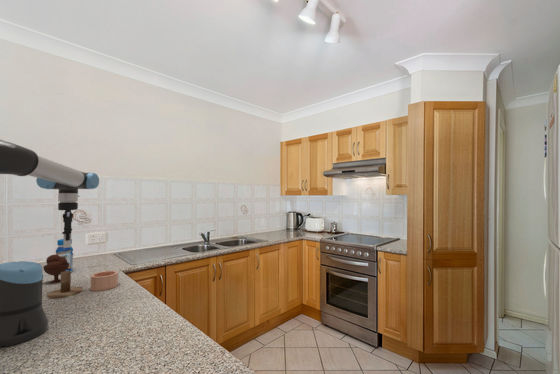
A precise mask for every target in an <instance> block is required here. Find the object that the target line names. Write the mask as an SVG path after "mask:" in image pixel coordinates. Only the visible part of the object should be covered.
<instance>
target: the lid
mask: <svg viewBox="0 0 560 374" xmlns="http://www.w3.org/2000/svg"><path fill="white" fill-rule="evenodd" d="M71 275H72V272H71V271H64V272H61V274H60V280H61V282H60V288H58V289H55V290H52V291H50V292H48V293H47V294H46V297H47V298H46V299H50V300H51V299H52V300H55V299H64V298H70V297H69V296H72V297H74V296H75V295H78V294H80V293H82V292H83V290H84V289H83V287H81V286H71V283H72V282H71V277H72V276H71ZM73 295H74V296H73Z"/></svg>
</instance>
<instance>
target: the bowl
mask: <svg viewBox="0 0 560 374" xmlns="http://www.w3.org/2000/svg"><path fill="white" fill-rule="evenodd" d="M118 285H119V271H117V270H104V271H99V272H96V273H93V274H91V275H90V291H92V292H102V291H107V290H111V289H114V288H117V287H118Z"/></svg>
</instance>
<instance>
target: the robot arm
mask: <svg viewBox="0 0 560 374" xmlns="http://www.w3.org/2000/svg"><path fill="white" fill-rule="evenodd" d="M0 175H14V176H17V177H27V176H30V177H33V178H36V185H37V186H38V187H40V188H41V189H45V190H58V195H57V196H58V198H57V201H58V204H57V210H58V211H64V213H62V220H63V221H62V222H63V223H64V225H63V231H62V233H61V234H62V235H63V239H64V241H63V244H64V248H68V247H72V244H71V239H72V231H73V228H72V222H73V218H74V214H73V213H72V211H77V210H79V204H78V203H79V202H78V201H79V198H80V195H79V190H94V189H97V188H98V187H99V184H100V178H99V175H98V174H97V173H94V172H84V171H81V170H77V169H76V168H72V167H70V166H67V165H64V164H63V163H59V162H56V161H54V160H52V159H48V158H45V157H43V156H40V155H38V153H36V151H34V150H32V149H29V148H28V147H24V146H21V145H18V144H15V143H13V142H9V141H6V140H3V139H0ZM43 271H44V270H43V266H42V265H41V264H40V263H38V262H36V261H27V260H26V261H25V260H23V261H22V260H21V261H10V262H9V261H8V262H3V263H0V348H3V347H2V346H6V347H9V345H11V346H15V345H17V344H21V343H24V342H26V341H30V340H32V339H34V338H37V337H38V336H40V335H42V334H44V333H45V332H46V331H48V328H49V319H48V317H47V315H46V313H45V310H44V308H43V303H42V302H43V284H44V283H43V281H44V279H43V278H44V272H43ZM14 344H15V345H14Z"/></svg>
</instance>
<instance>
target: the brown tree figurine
mask: <svg viewBox="0 0 560 374" xmlns="http://www.w3.org/2000/svg"><path fill="white" fill-rule="evenodd" d="M45 261H46V262H45V263H46V264H45V265H43V266H42V269H43V271H44V273H46V274H47V275H48V276H53V278H54V279H52V280H51V281H50V282H49V284H57V283H61V278H59V275H61V272H64V271H66V270H67V269H68V267H69V264H70V263H69V262H67V259H66V258H64V257H61V256H59V255H56V254H51V255H49V256H47V258H46V260H45Z"/></svg>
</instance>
